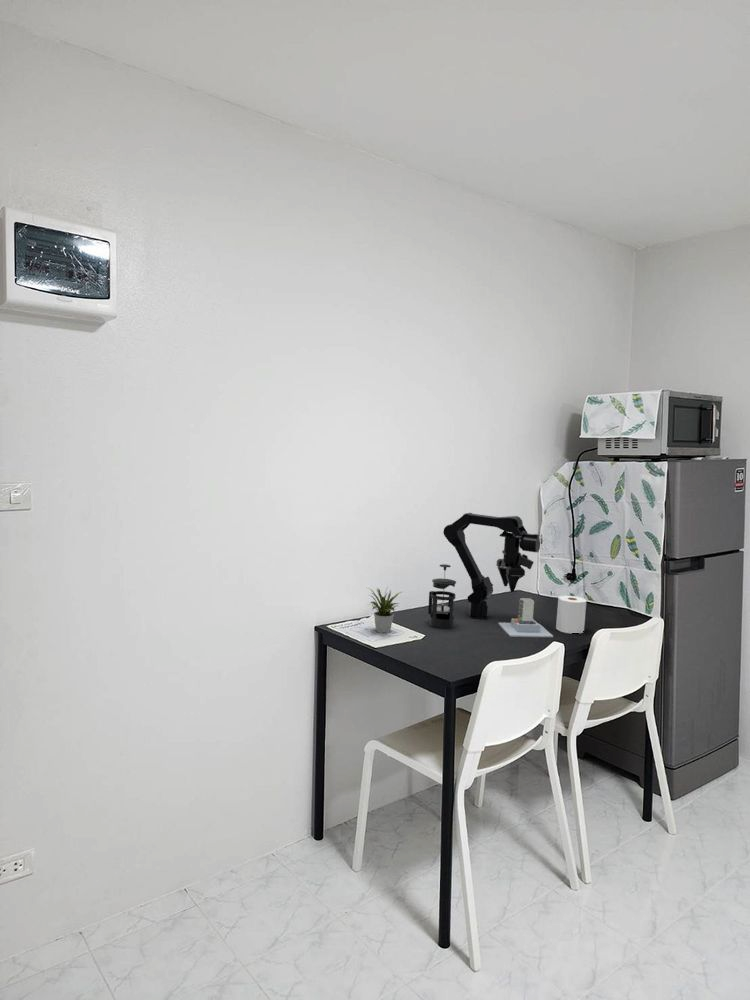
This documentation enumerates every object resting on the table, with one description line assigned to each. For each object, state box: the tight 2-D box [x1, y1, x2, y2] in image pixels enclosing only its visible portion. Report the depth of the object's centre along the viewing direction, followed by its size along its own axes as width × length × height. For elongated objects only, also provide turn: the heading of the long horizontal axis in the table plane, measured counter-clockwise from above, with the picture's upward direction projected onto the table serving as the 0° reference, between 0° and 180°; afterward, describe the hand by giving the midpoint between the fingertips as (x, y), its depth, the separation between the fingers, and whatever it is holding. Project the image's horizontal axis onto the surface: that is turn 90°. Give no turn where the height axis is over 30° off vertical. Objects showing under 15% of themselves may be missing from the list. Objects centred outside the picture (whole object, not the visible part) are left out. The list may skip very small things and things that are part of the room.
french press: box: [427, 563, 457, 630], centre depth 265 cm, size 12×9×23 cm
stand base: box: [498, 618, 554, 638], centre depth 263 cm, size 16×16×4 cm
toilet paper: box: [555, 595, 587, 634], centre depth 267 cm, size 10×10×12 cm
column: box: [517, 597, 535, 621], centre depth 263 cm, size 5×4×8 cm
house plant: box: [367, 586, 403, 633], centre depth 254 cm, size 14×14×16 cm
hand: (508, 589), depth 273 cm, fingers open, 9 cm apart
